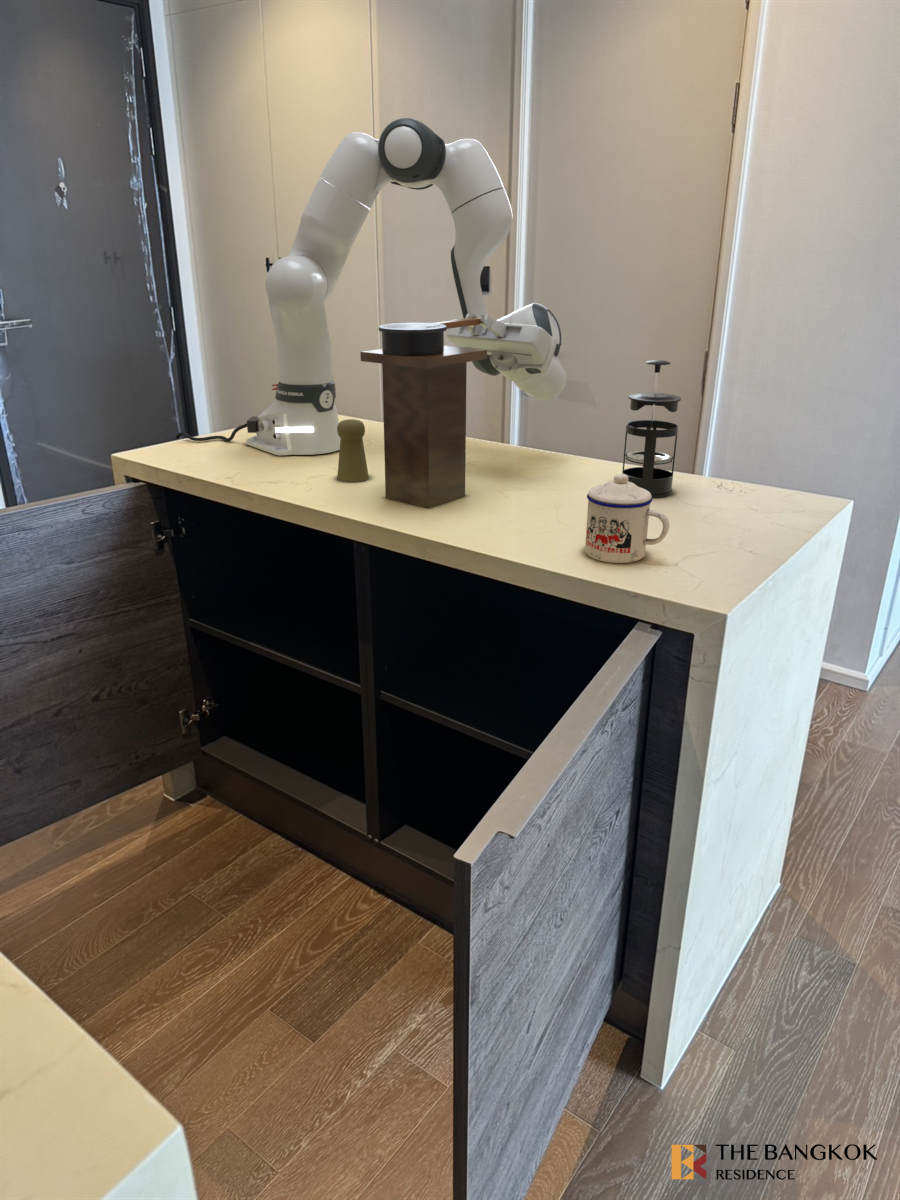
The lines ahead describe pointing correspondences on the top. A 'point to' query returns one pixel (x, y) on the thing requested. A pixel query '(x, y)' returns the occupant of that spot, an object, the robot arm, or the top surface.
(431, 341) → the saucepan
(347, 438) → the cork
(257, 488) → the top surface
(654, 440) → the french press
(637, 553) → the teacup with lid
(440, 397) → the stand
